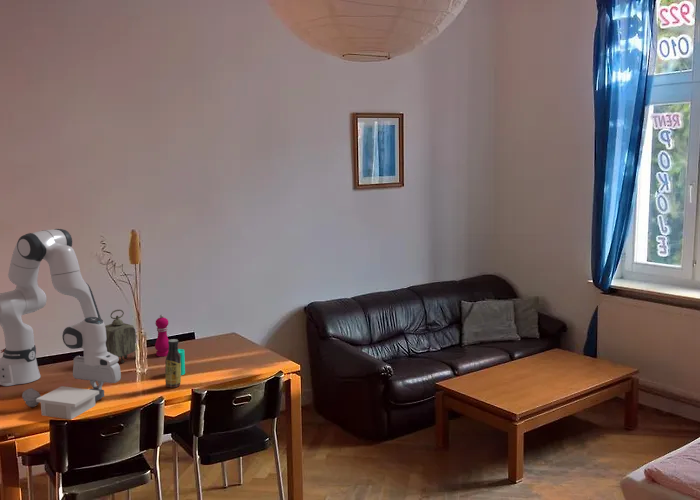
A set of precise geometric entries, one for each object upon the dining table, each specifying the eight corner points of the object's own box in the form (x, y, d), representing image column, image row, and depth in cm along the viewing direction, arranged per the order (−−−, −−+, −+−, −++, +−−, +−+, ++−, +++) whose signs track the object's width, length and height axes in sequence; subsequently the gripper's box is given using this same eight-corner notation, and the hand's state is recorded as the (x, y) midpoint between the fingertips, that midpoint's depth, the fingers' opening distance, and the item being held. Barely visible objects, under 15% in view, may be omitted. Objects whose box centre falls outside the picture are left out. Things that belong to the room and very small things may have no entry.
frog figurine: (30, 402, 260) (29, 385, 259) (45, 404, 258) (44, 387, 257) (19, 408, 254) (17, 390, 253) (34, 410, 252) (32, 392, 251)
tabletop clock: (126, 356, 318) (124, 305, 314) (138, 360, 313) (136, 308, 309) (100, 364, 306) (97, 311, 302) (112, 368, 301) (109, 314, 297)
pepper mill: (164, 351, 326) (162, 311, 323) (173, 354, 322) (172, 314, 319) (152, 355, 320) (150, 314, 317) (161, 358, 316) (160, 317, 313)
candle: (179, 370, 299) (178, 344, 297) (187, 373, 295) (187, 347, 293) (168, 373, 294) (167, 347, 292) (176, 377, 290) (175, 350, 288)
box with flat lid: (37, 414, 248) (36, 398, 247) (62, 401, 262) (61, 386, 261) (75, 420, 244) (74, 404, 243) (99, 406, 257) (99, 390, 256)
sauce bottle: (162, 387, 278) (160, 341, 275) (171, 382, 284) (170, 337, 281) (175, 389, 275) (174, 343, 272) (184, 384, 281) (183, 339, 278)
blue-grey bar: (75, 414, 250) (74, 406, 249) (61, 412, 251) (60, 404, 251) (104, 397, 267) (104, 389, 267) (91, 395, 269) (91, 388, 268)
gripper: (68, 357, 266) (70, 390, 268) (112, 362, 261) (114, 396, 263) (78, 353, 272) (80, 385, 274) (122, 357, 267) (123, 390, 269)
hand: (97, 390), depth 269 cm, fingers closed
